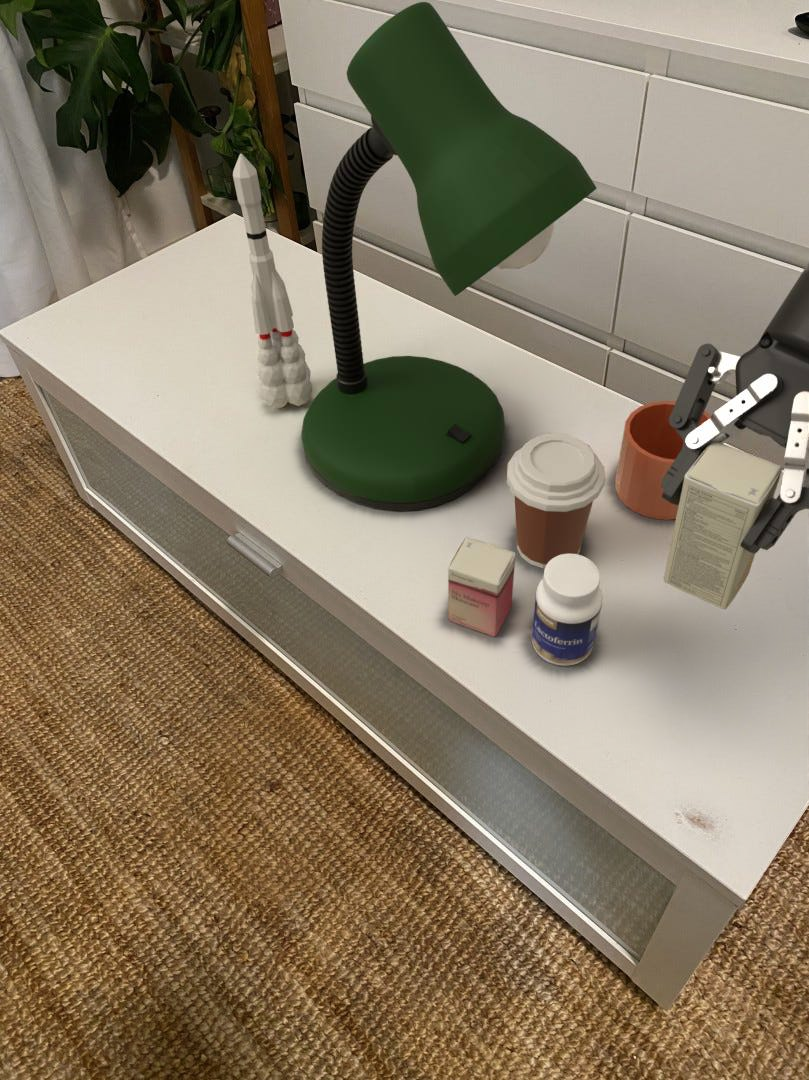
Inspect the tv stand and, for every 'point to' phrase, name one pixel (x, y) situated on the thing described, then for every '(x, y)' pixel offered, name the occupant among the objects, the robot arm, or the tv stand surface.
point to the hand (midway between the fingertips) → (708, 524)
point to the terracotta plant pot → (648, 459)
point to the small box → (480, 586)
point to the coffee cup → (553, 495)
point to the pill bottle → (567, 610)
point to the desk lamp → (457, 253)
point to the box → (718, 522)
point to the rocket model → (270, 305)
